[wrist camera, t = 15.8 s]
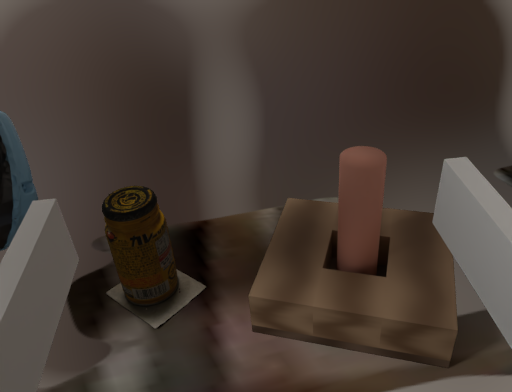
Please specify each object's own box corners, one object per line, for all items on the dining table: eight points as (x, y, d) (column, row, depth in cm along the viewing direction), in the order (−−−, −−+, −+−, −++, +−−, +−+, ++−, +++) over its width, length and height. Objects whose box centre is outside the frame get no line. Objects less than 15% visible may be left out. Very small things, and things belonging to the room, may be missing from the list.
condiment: (156, 258, 57) (134, 172, 50) (206, 288, 52) (190, 198, 45) (106, 294, 52) (74, 206, 46) (155, 331, 48) (129, 238, 41)
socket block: (252, 331, 47) (248, 295, 44) (289, 230, 59) (288, 197, 56) (448, 368, 42) (457, 330, 39) (443, 250, 54) (450, 214, 51)
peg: (333, 292, 49) (336, 167, 40) (339, 266, 52) (343, 144, 43) (373, 298, 48) (385, 171, 39) (377, 271, 51) (388, 147, 42)
